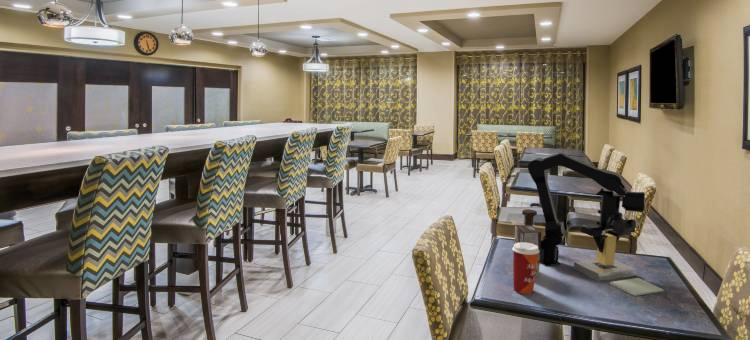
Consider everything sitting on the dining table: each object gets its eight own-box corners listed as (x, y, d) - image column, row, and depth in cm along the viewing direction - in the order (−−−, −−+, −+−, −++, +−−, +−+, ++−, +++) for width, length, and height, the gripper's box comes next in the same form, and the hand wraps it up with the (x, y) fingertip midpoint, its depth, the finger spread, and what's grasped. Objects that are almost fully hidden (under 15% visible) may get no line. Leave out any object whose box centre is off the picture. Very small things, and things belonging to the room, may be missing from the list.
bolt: (533, 244, 200) (535, 209, 198) (535, 248, 196) (538, 212, 193) (518, 243, 201) (521, 209, 198) (521, 247, 196) (523, 212, 194)
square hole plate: (598, 281, 163) (598, 274, 163) (573, 268, 174) (573, 261, 174) (635, 275, 168) (635, 268, 168) (608, 263, 179) (609, 257, 179)
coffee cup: (533, 298, 149) (536, 251, 147) (506, 292, 154) (509, 247, 151) (539, 288, 156) (542, 244, 154) (514, 283, 161) (516, 240, 158)
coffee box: (539, 277, 166) (542, 232, 163) (521, 277, 165) (524, 232, 163) (528, 267, 175) (531, 224, 172) (511, 267, 174) (514, 224, 172)
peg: (604, 265, 168) (607, 237, 166) (596, 261, 172) (598, 234, 170) (613, 264, 169) (616, 236, 168) (605, 260, 173) (607, 233, 171)
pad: (634, 296, 152) (634, 294, 151) (609, 283, 161) (609, 282, 161) (663, 291, 155) (663, 289, 155) (637, 279, 165) (637, 277, 164)
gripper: (606, 216, 157) (602, 262, 159) (650, 212, 163) (645, 256, 165) (581, 208, 167) (578, 251, 170) (624, 204, 173) (620, 246, 176)
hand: (605, 251), depth 170 cm, fingers closed on peg, 4 cm apart
